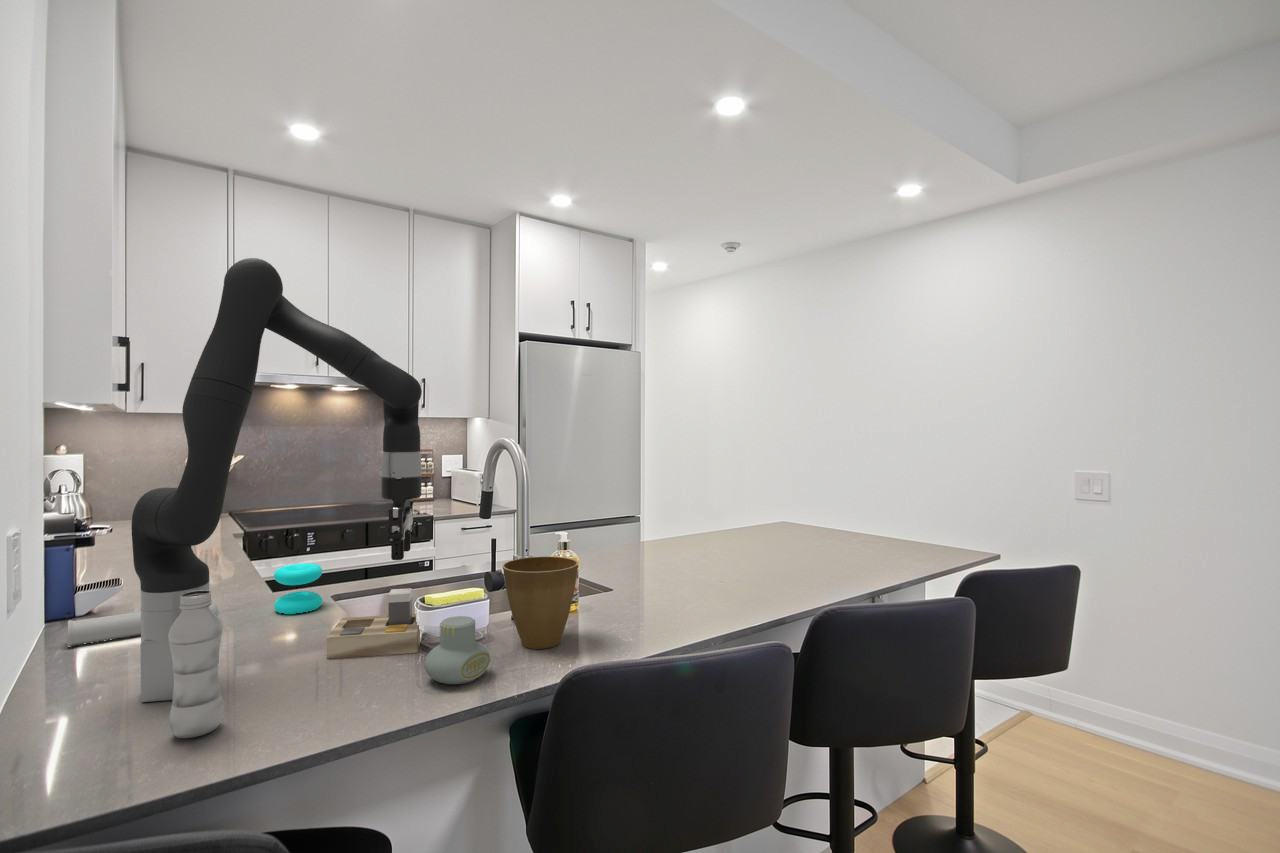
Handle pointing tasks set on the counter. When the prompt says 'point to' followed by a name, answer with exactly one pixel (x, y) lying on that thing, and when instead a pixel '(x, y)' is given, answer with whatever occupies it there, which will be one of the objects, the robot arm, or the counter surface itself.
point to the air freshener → (457, 653)
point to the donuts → (301, 599)
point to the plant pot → (540, 597)
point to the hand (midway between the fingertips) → (401, 555)
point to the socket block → (372, 637)
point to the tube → (107, 627)
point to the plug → (400, 606)
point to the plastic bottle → (195, 667)
